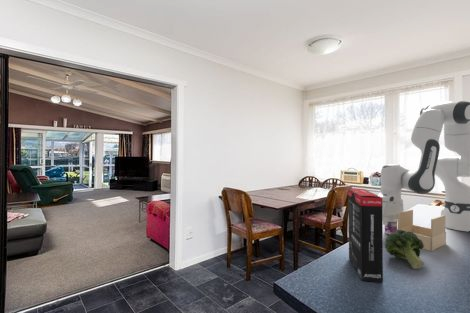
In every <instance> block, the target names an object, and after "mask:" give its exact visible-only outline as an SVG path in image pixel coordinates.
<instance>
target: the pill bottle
mask: <svg viewBox="0 0 470 313" xmlns="http://www.w3.org/2000/svg"><path fill="white" fill-rule="evenodd" d="M395 218H396V215H391V216H387V221H388V225H384V233H385V234H386V235H390V234H391V233H394V232H396V231H397V229H398V222H397V220H396V219H395Z"/></svg>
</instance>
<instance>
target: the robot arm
mask: <svg viewBox="0 0 470 313" xmlns="http://www.w3.org/2000/svg"><path fill="white" fill-rule="evenodd" d="M442 130H443V131H442ZM442 132H443V138H444V148H446V149H447V150H449V151H451V152H452V153H453V152H454V153H456V154H457V155H459V156H440V155H439V154H440V149H441V148H440V147H441V146H440V137H441V134H442ZM410 141H411V143H412V144H413V146H414V147H416V148H418V149H419V150H420V152H421V157H420V162H419V166H418V168H417V170H416V171H414V170H410V169H406V168H405V167H402V166H401V165H400V164H398V163H388V164H385V165H383V166H382V168H381V169H380V191H379V193H377V194H376V195H377V196H380V197H382V222H383V226H385V225H388V221H387V216H391V215H396V218H395V219H396V220H397V223H398V213H400V212H404V200H403V198H402V189H403V190H407V191H411V192H414V193H416V194H419V195H425V194H426V195H427V194H428V193H430V192H431V191H433V189H434V188H435V184H436V177H437V178H438V179H439V180H440V181H441V182H442V184H443V186H444V192H445V193H444V194H445V200H444V203H443V205H444V208H443V209H441V210H440V216H443V215H446V223H445V229H450V230H455V231H461V232H469V231H470V185H468V184H466V183H464V182H461V181H460V180H459V179H458V177H460V178H461V177H462V178H470V101H466V100H465V101H464V100H460V101H444V102H436V103H434V102H433V103H429V104H426V105H424V106H423V107H422V108H421V110H420V111H419V117H418V118H417V120H416V123H415V125H414V126H413V130H412V133H411V137H410Z"/></svg>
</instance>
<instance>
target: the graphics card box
mask: <svg viewBox="0 0 470 313" xmlns="http://www.w3.org/2000/svg"><path fill="white" fill-rule="evenodd" d="M377 195H378V194H376V193H373V192H371V191H369V190H367V189H365V188H348V192H347V196H348V200H347V201H348V208H347V209H348V212H347V213H348V259H349V261H350V262H351V264H352V267H353V268H354V269H355V272H356V274H357V275H358V278H360V280H361V281H363V282H365V281H366V282H374V283H384V271H383V270H384V266H383V262H384V261H383V259H384V257H383V256H384V255H383V252H384V250H383V249H384V248H383V246H384V245H383V241H384V240H383V236H384V235H383V231H384V228H383V226H384V225H383V220H382V197H380V196H377Z"/></svg>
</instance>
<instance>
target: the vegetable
mask: <svg viewBox="0 0 470 313" xmlns="http://www.w3.org/2000/svg"><path fill="white" fill-rule="evenodd" d="M384 247H385V249H386V252H387V253H389V255H390V256H394V257H395V258H396V259H398V260H399V259H401V258H402V259H404V260H407V261H408V263H409V264H410V268H411V269H413V270H420V269H422V268H423V266H424V264H425V262H424V261H423V260H421V259H420V258H421V257H420V255H421V250H424V249H423V247H424V245H423V242H422V240H420V239H419V238H418V237H417V236H416V234H414V233H413V232H406V231H403V230H397V231H396V232H394V233H391V234H388V236H387V237H386V238H385V244H384Z"/></svg>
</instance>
